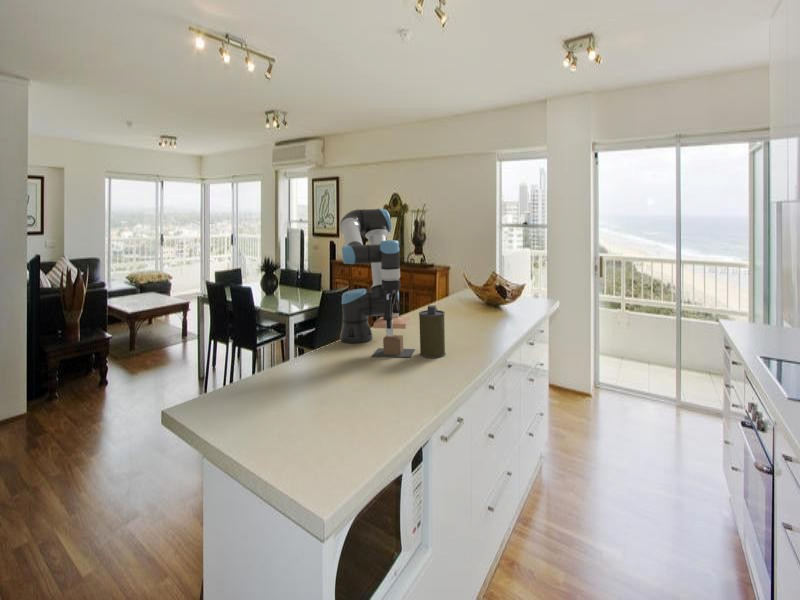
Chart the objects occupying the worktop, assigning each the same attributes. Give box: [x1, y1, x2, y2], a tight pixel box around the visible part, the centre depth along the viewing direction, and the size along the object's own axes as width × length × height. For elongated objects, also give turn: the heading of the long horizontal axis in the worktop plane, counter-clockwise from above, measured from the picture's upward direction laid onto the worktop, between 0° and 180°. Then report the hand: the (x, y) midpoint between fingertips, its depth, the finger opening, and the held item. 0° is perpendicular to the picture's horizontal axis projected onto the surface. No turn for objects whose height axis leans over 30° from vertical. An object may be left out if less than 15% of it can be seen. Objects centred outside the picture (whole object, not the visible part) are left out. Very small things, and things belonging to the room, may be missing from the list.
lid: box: [373, 316, 411, 330], centre depth 176 cm, size 13×11×2 cm
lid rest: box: [371, 334, 416, 359], centre depth 178 cm, size 16×11×7 cm
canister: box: [418, 305, 446, 359], centre depth 174 cm, size 11×10×20 cm
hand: (392, 332), depth 177 cm, fingers closed on lid, 11 cm apart
